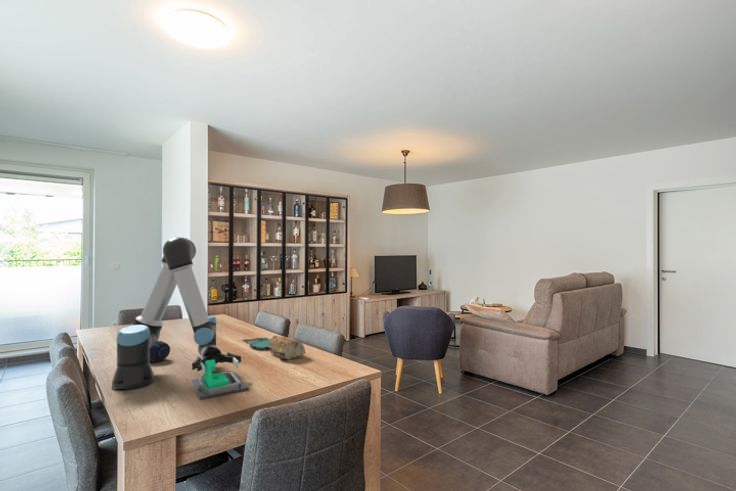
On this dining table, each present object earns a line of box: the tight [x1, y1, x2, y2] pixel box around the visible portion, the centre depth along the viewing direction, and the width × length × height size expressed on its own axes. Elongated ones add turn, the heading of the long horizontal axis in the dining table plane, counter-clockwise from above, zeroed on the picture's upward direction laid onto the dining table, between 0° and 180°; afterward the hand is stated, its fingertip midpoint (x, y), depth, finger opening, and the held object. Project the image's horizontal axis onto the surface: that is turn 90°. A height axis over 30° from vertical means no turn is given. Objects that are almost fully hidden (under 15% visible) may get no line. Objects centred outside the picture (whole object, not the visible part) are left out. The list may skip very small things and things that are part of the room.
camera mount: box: [202, 360, 229, 388], centre depth 154 cm, size 12×8×10 cm, turn 34°
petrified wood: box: [268, 335, 306, 360], centre depth 198 cm, size 19×13×10 cm
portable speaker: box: [149, 340, 171, 362], centre depth 192 cm, size 25×10×10 cm, turn 73°
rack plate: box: [191, 370, 249, 400], centre depth 155 cm, size 18×22×2 cm
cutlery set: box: [242, 337, 271, 350], centre depth 222 cm, size 20×30×2 cm, turn 37°
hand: (221, 367), depth 152 cm, fingers open, 12 cm apart
